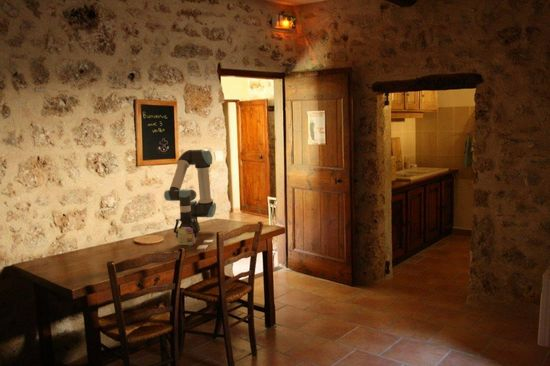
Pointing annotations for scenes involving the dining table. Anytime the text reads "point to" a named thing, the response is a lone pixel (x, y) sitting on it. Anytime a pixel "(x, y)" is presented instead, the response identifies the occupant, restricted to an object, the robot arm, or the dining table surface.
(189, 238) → the awl
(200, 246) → the joist line
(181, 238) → the box
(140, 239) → the dining table surface
